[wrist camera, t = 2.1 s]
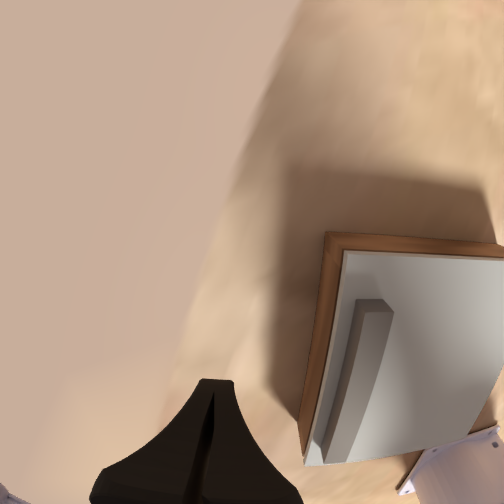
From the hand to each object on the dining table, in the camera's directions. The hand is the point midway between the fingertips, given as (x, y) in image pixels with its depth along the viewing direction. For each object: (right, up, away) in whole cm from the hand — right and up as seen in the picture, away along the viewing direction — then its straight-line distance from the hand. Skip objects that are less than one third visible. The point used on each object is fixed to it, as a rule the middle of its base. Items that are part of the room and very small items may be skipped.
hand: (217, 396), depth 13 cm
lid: (+11, 0, +1) cm, 11 cm away
